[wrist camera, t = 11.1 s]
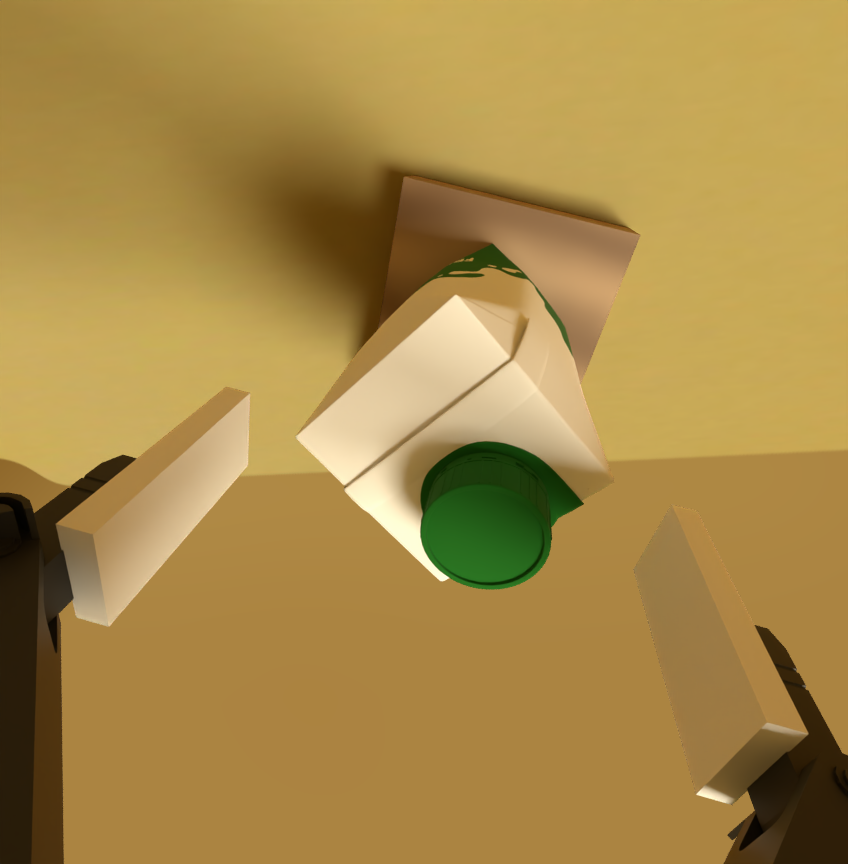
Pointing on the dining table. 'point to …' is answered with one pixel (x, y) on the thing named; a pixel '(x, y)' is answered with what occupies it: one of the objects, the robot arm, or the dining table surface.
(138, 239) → the dining table surface
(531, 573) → the soya milk
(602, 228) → the plinth
